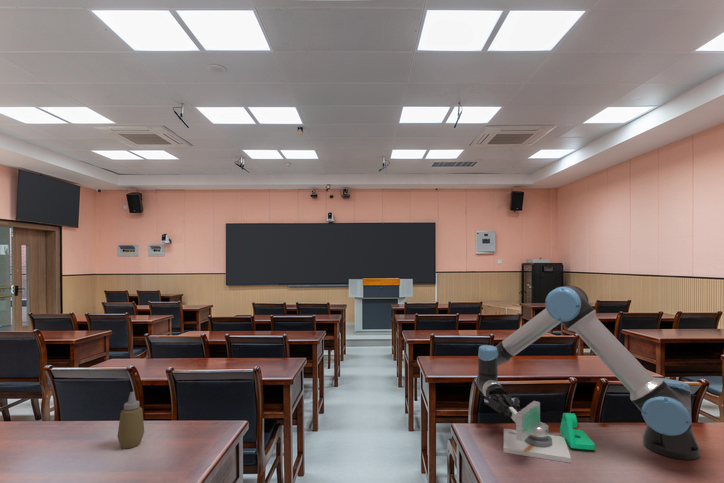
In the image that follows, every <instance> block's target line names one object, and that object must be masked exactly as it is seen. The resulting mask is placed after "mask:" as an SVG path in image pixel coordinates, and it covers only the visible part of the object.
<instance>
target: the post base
mask: <svg viewBox="0 0 724 483" xmlns="http://www.w3.org/2000/svg"><path fill="white" fill-rule="evenodd" d="M503 453H504V454H505V453H506V454H512V455H516V456H524V457H530V458H538V459H543V460H550V461H555V462H562V463H569V464H572V458H571V453H570V451H569V447H568V446H567V444H566V441H565V438H564V437H563V436H562V435H561V436H560V435H553V434H549V439H548V440H545V441H539V440H534V439H531V438H529V437H527V438H526V439H525V440H524V441H523V442H522V441H519V440H516V429H512V428H511V429H510V428H503Z"/></svg>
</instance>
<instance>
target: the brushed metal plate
mask: <svg viewBox="0 0 724 483" xmlns="http://www.w3.org/2000/svg"><path fill="white" fill-rule="evenodd" d="M515 430H516V440H519V441H522V442H523V441H524V440H525V439H526V438H527V437H529V438H531V439H534V440H539V441H545V440H548V439H549V435H550V433H549V425H548V424H546V423H545V422H542V421H541V402H540V401H536V400H533V401H532V402H530V403H528V404H527V405H526V406H525V407H523V408H521V409H520V411H519V412H518V413H516V423H515Z"/></svg>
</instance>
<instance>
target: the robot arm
mask: <svg viewBox="0 0 724 483" xmlns="http://www.w3.org/2000/svg"><path fill="white" fill-rule="evenodd" d="M596 313H597V311H596V309H595V308H594V307H593V306H592V305H591V304H590V301H589V297H588V294H587V293H586V292H585V291H584V290H583V289H582V288H581V287H578V286H576V285H565V286H558V287H555V289H552V290H551V291H550V292H549V293H548V294H547V295H546V297H545V308H544V309H543V310H542V311H540V312H539V313H538V314H536V315H535V316H534V317H532V318H531V319H529V320H528V321H527V322H526V323H525V324H523V325H522V326H520V327H519V328H517V330H515V331H514V332H513V333H511V334H510V335H508V336H507V337H506V338H505V339H503V340H502V341H500V342H499V343H498V344H497V345H495V346H494V345H489V344H483V345H480V346H479V347H478V354H477V360H478V361H477V362H478V363H477V364H478V368H477V369H478V374H477V376H476V378H475V385H476V387H477V388H478V390H479V391H480V392H481V393H482V394H483V400H484V401H483V403H484V405H487V406H488V407H490V408H491V409H493V410H494V411H495V412H498V414H503V413H504V417H509V418H511V419H512V421H513V422H514V423H515V424H516V413H518V412H519V411H520V410H521V405H520V398H519V397H518V396H516V397H512V396H511V395H509V394H508V392H507V390H506V389H505V388H504V387H503V386H502V385H501V384H500V383H499V381H498V373H499V371H498V370H499V369H498V367H500V366H501V365H503V364H506V363H508V362H509V361H510V360H511V359H512V358H513V357H515V356H516V355H518V354H519V353H521V351H523V350H525V349H526V348H527V347H529V346H530V345H532V344H533V343H535V342H536V341H538V339H540V338H541V337H543V336H544V335H546V334H547V333H548V332H550V331H551V330H553V329H554V328H556V327H557V326H559V325H560V324H562V325H563V326H564V328H566V330H568V331H571V332H575V333H576V334H577V335H578V337H580V340H582V341H583V342H584V343H585V344H586V345H587V346H588V348H590V350H592V352H593V353H594V354H595V355H596V357H597V358H599V360H600V361H601V362H602V363H603V364H604V365H605V366H606V367H607V368H608V370H609V371H610V373H612V374H613V375H614V376H615V378H616V379H618V381H619V382H620V383H621V384H622V385H623V386H624V387H625V388H626V390H627V391H628V392H629V394H630V395H629V399H630V400H631V402H632V403H633V404H634V406H636V407H637V409H638V410H639V411H640V412H641V416H642V418H643V421H645V422H644V423H645V424H647V425H646V426H645V429H644V432H643V435H642V443H643V445H644V446H645V448H647V449H648V450H650V451H652V452H654V453H657V454H659V455H661V456H665V457H669V458H673V459H676V460H685V461H687V460H688V461H693V460H697V459H699V458H700V457H701V452H700V446H699V444H698V441H697V440H696V437H695V434H694V432H693V428H692V427H693V426H692V425H693V424H692V399H691V397H692V396H691V394H692V391H691V386H690V385H689V384H688V383H687V382H684V381H680V380H675V379H670V378H662V377H654V376H653V375H652V374H651V373H650V372H649V371H648V370H647V369H646V368H645V367H644V366H643V365H642V364H641V363H640V361H639V360H638V359H637V358H636V357H635V356H634V355H633V353H631V352H630V351H629V350H628V349H627V348H626V347H625V346H624V345H623V344H622V343H621V342H620V341H619V340H618V339H617V337H616V336H614V334H613V333H612V332H611V331H610V330H609V329H608V328H607V327H606V326H605V325H604V324H603V323H602V322H601V320H599V318H598V317H597V316H596Z"/></svg>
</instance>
